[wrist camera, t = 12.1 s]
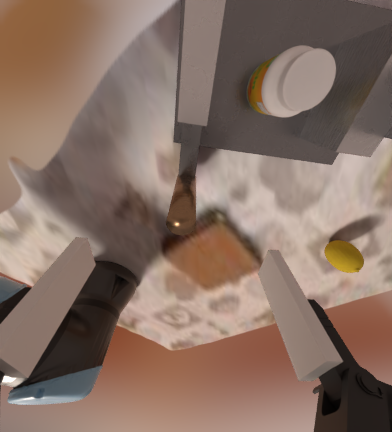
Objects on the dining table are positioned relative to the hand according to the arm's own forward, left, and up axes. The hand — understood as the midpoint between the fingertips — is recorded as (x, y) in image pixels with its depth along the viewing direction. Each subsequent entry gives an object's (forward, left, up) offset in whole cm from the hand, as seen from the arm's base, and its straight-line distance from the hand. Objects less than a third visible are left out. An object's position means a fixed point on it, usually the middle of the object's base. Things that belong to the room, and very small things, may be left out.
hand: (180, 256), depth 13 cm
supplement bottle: (+9, +12, -18) cm, 24 cm away
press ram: (0, +7, -18) cm, 19 cm away
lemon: (+34, -13, -20) cm, 41 cm away
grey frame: (+10, +12, -20) cm, 25 cm away
